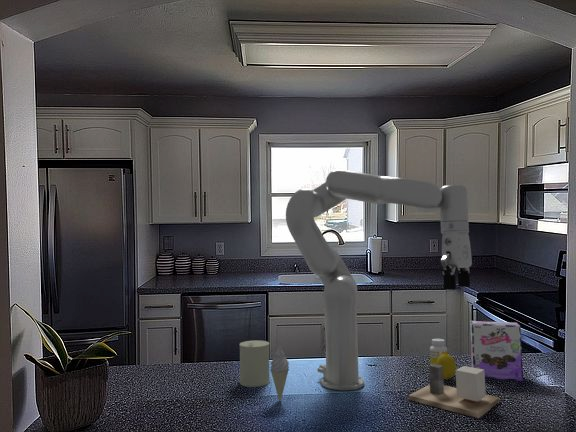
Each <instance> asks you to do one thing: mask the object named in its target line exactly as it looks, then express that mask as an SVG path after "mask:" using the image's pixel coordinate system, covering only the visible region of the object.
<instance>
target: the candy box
mask: <svg viewBox="0 0 576 432" xmlns="http://www.w3.org/2000/svg"><path fill="white" fill-rule="evenodd" d="M469 322H470V323H469V325H470V327H469V328H470V350H471V351H470V354H471V355H470V356H471V367H473V368H478V369H484V372H485V379H492V380H493V379H494V380H503V381H515V382H516V381H517V382H518V381H519V382H524V370H523V368H524V366H523V353H522V352H523V351H522V350H523V349H522V332H521V331H522V330H521V325H520V324H519V323H518V322H509V321H507V322H505V321H502V322H501V321H480V320H479V321H477V320H469Z"/></svg>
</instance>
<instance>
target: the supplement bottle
mask: <svg viewBox="0 0 576 432" xmlns="http://www.w3.org/2000/svg"><path fill="white" fill-rule="evenodd" d="M431 344H432V345H431V346H430V347H429V354H430V355H429V356H430V357H429V358H430V359H429V360H430V365H432V364H436V365H437V360H438V357H439V356H440V355H442V354H444V353H447V354H448V355H449V352H448V348H447V346H445V345H446V341H445V339H443V338H432V339H431Z"/></svg>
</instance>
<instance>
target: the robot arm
mask: <svg viewBox="0 0 576 432" xmlns="http://www.w3.org/2000/svg"><path fill="white" fill-rule="evenodd" d="M345 200H354V201H358V202H362V203H369V204H373V205H374V204H375V205H384V204H395V205H402V206H408V207H412V208H415V210H417V211H419V212H422V213H430V212H435V211H439V214H440V218H439V219H440V233H441V235H442V238H441V258H440V263H441V270H442V275H443V289H444V290H450V291H451V290H452V291H454V290H457V284H458V287H460V288H471V277H470V276H471V274H470V273H471V270H470V267H471V266H472V265H473V261H472V260H473V259H472V248H471V242H470V235H469V233H470V229H469V228H470V227H469V226H470V225H469V205H468V200H469V199H468V189H467V187H466V186H465V185H462V184H448V185H443V186H442V187H439V186H437V185H436V184H434V183H431V182H427V181H422V180H416V179H411V178H404V177H396V176H395V177H393V176H385V175H378V174H371V173H365V172H364V173H363V172H361V171H359V172H358V171H354V170H349V169H341V168H339V169H334V170H331V171H330V172H329V173H328V174H327V176H326V180H325V182H323V183H322V184H320V185H319V186H318V187H316V188H314V189H311V188H308V187H307V188H306V187H305V188H301V189H298V190H296V192H295V191H294V193H293V194H292V196H291V197H290V199H289V201H288V203H287V205H286V209H285V221H286V225H287V228H288V231H289V233H290V235H291V237H292V238H293V240H294V243H295V244H296V246H297V248H298V250H299V252H300V254H301V255H302V257H303V259H304V261H305V263H306V265H307V267H308V269H309V271H310V272H312V273H313V274H314V275H316V276H318V279H319V280H320V281H321V284H322V286H324V289H323V294H322V295H323V310H324V332H325V333H324V336H325V340H324V341H325V364H322V363H321V364H320V365H319V367H318V368H317V370H316V371H317V373H320V374H323V377H322V378H321V380H320V384H321V385H322V387H324V388H326V389H329V390H333V391H334V390H335V391H354V390H358V389H361V388H362V387H364V385H365V380H364V378H362V377H360V376H359V350H358V348H359V344H358V342H359V341H358V338H359V337H358V315H357V313H358V312H357V297H358V296H357V295H358V285H357V283H356V281H355V278H354V277H353V275H352V274H351V272H350V270H349V269H348V267H347V265H346V263H345V262H344V260H343V258H342V257H341V255H340V254H339V252H338V251H337V250H336V249H335V248H334V247H333V246H330V245H329V243H328V241H327V239H326V238H325V237H324V235H323V232H322V231H321V230H320V227H319V226H318V224H317V223H316V221H315V218H317V217H320V216H321V215H323V214H324V213H326V212H328V211H329V210H331V209H333V208H335V206H337V205H339V204H341V203H342V202H344V201H345ZM456 268H457V270H458V272H457V278H458V279H456V274H455V271H456ZM456 280H458V283H456Z"/></svg>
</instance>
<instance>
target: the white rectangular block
mask: <svg viewBox="0 0 576 432" xmlns="http://www.w3.org/2000/svg"><path fill="white" fill-rule="evenodd" d="M455 388H456V390H457V397H460V398H464V399H468V400H472V401H477V402H478V401H480V400H481V399H482V398H484V397H485V396H486V395H487V394H486V378H485V372H484V369H478V368H473V367H472V366H465V365H463V366H461V367H459V368H456V372H455Z"/></svg>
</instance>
